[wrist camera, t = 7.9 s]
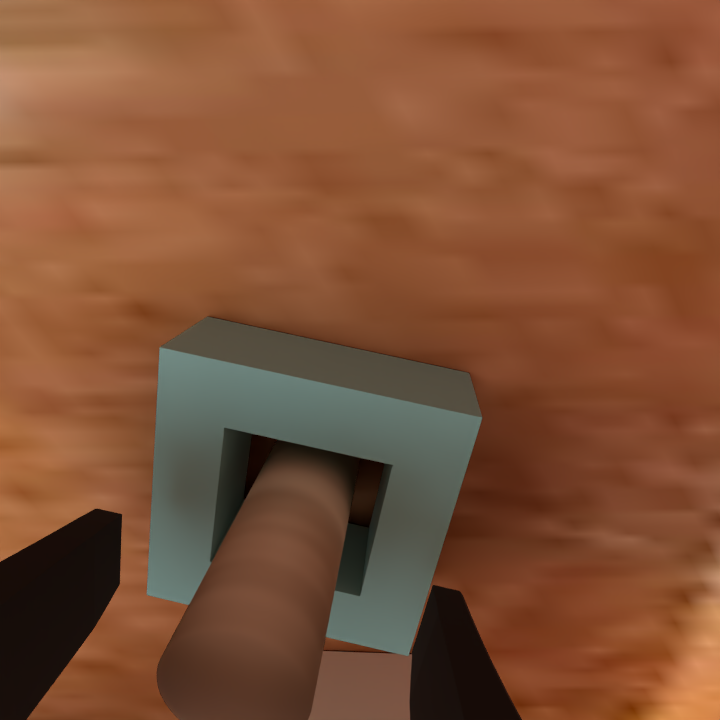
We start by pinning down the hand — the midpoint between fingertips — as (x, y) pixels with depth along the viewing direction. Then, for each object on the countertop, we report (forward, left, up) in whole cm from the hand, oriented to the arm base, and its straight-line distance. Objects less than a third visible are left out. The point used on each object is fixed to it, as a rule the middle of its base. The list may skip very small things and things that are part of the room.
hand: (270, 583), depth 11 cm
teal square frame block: (0, 0, -5) cm, 5 cm away
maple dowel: (0, 0, -5) cm, 5 cm away
